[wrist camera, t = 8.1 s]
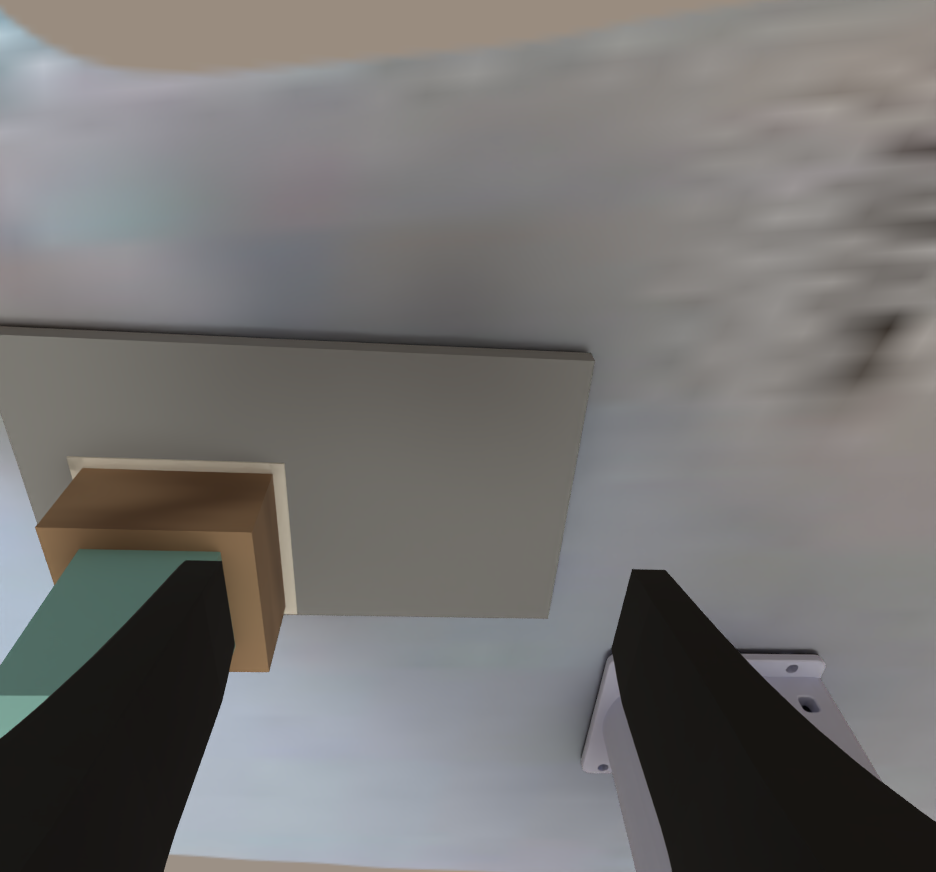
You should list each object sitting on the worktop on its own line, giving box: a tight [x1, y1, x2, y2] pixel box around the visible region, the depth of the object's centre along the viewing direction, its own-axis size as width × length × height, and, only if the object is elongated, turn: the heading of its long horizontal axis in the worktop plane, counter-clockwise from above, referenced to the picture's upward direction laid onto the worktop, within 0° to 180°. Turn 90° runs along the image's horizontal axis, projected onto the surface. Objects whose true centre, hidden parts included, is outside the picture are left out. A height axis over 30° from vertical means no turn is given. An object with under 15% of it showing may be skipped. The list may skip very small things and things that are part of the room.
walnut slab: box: [35, 468, 286, 672], centre depth 22 cm, size 6×6×3 cm
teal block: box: [0, 549, 236, 738], centre depth 19 cm, size 4×4×5 cm
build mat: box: [0, 326, 595, 619], centre depth 23 cm, size 18×11×1 cm, turn 86°
